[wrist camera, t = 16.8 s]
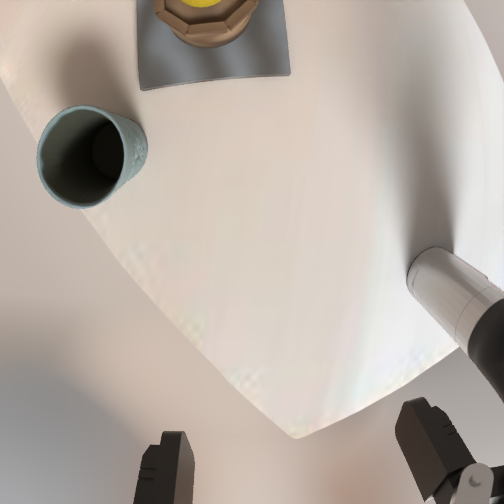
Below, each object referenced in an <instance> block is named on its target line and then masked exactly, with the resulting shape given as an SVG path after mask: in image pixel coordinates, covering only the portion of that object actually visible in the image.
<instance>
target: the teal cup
mask: <svg viewBox="0 0 504 504" xmlns="http://www.w3.org/2000/svg"><path fill="white" fill-rule="evenodd" d="M147 152H148V144H147V139H146V136H145V134H144V132H143V130H142V129H141V127H140V126H139V125H138V124H137V123H135V122H134V121H132V120H130V119H128V118H125V117H122V116H119V115H117V114H114V113H111V112H108V111H106V110H103V109H101V108H98V107H95V106H90V105H78V106H73V107H69V108H67V109H65V110H63V111H61V112H60V113H58V114H57V115H56V116H55V117H54V118H53V119H52V120H51V121H50V122H49V123H48V125H47V126H46V128H45V129H44V131H43V133H42V135H41V138H40V141H39V144H38V150H37V168H38V173H39V176H40V179H41V181H42V183H43V185H44V187H45V189H46V190H47V191H48V193H49V194H50V195H51V196H52V197H53V198H54V199H55V200H57V201H58V202H60V203H62V204H63V205H66V206H68V207H71V208H75V209H85V208H90V207H94V206H96V205H99V204H101V203H103V202H104V201H106V200H107V199H108V198H109V197H110V196H111V195H112V194H113V193H115V192H116V191H117V190H118V189H119V188H120V187H121V186H122V185H124V184H125V183H126V182H127V181H129V180H130V179H131V178H133V177H134V176H135V175H136V174H137V173H138V172H139V171H140V170H141V168H142V167H143V165H144V163H145V160H146V157H147Z"/></svg>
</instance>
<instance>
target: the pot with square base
mask: <svg viewBox="0 0 504 504" xmlns="http://www.w3.org/2000/svg"><path fill="white" fill-rule="evenodd" d="M137 35H138V63H139V81H140V90H142V91H146V90H152V89H157V88H163V87H169V86H176V85H182V84H190V83H197V82H206V81H215V80H225V79H237V78H251V77H271V76H289V75H290V74H291V72H290V61H289V51H288V41H287V31H286V22H285V13H284V5H283V0H221V1H220V2H218V3H217V4H215V5H212V6H209V7H193V6H190V5H187V4H185V3H184V2H182V1H181V0H137Z"/></svg>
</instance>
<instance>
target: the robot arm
mask: <svg viewBox="0 0 504 504" xmlns="http://www.w3.org/2000/svg"><path fill="white" fill-rule="evenodd" d="M407 285H408V289H409V291H410V293H411V294H412V296H413V297H414V298H415V299H416V300H417V301H418V302H419V303H420V304H421V305H422V306H423V307H424V308H425V309H426V310H427V311H428V313H429V314H430V315H431V316H432V317H433V318H434V319H435V320H436V321H437V322H438V323H439V324H440V325H441V326H442V328H443V329H444V330H445V331H446V332H447V333H448V334H449V335H450V336H451V337H452V338H453V340H454V341H455V342H456V343H457V344H458V345H459V346H460V347H461V348H462V350H463V351H464V352H465V353H466V354H467V355H468V356H469V357H470V359H471V360H472V361H473V362H474V363H475V364H476V366H477V367H478V369H479V370H480V371H481V372H482V374H483V375H484V376H485V378H486V379H487V380H488V381H489V382H490V384H491V385H492V387H493V388H494V389H495V391H496V392H497V394H498V395H499V397H500V398H501V399H502V401H503V403H504V291H503V290H501V289H500V288H498V287H497V286H496V285H494V284H493V283H492V282H490V281H489V280H488V278H487V276H485V275H484V274H483V273H481V272H480V271H478V270H477V269H475V268H474V267H473V266H471V265H470V264H468V263H467V262H465V261H464V260H462V259H461V258H459V257H458V256H456V255H455V254H451V253H449V252H448V251H446V250H444V249H442V248H439V247H434V248H430V249H427V250H426V251H424V252H422V253H421V254H420V255H419V256H418V257H417V258H416V259H415V261H414V262H413V264H412V265H411V268H410V270H409V273H408V277H407ZM395 435H396V439H397V441H398V443H399V445H400V447H401V450H402V452H403V454H404V456H405V458H406V461H407V463H408V465H409V467H410V469H411V472H412V474H413V477H414V479H415V481H416V483H417V486H418V488H419V490H420V492H421V495H422V497H423V500H424V502H427V501H429V500H432V499H434V500H435V502H436V504H504V465H503V466H498V467H492V468H489V467H488V466H486V465H484V464H481V463H477V462H476V461H475V460H474V459H473V457H472V455H471V453H470V452H469V450H468V448H467V447H466V445H465V443H464V442H463V440H462V438H461V437H460V435H459V433H457V430H456V429H455V427H454V425H452V422H451V420H450V419H449V417H448V416H447V414H446V413H445V412H444V411H442V410H441V409H440V408H438V407H437V406H434V407H431V406H430V405H429V403H428V402H427V400H426V399H425V398H424V397H420V398H416V399H413V400H409V401H406V402H404V403H403V406H402V409H401V412H400V414H399V417H398V420H397V423H396V426H395ZM194 469H195V461H194V455H193V451H192V449H191V446H190V444H189V441H188V439H187V436H186V434H185V432H184V431H164V432H163V433H162V436H161V442H160V445H150V446H149V447H148V449H147V450H146V451H145V453H144V454H143V456H142V461H141V466H140V471H139V476H138V478H139V479H138V481H137V486H136V492H135V497H134V503H133V504H192V500H193V485H194Z"/></svg>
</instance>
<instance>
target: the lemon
mask: <svg viewBox="0 0 504 504" xmlns="http://www.w3.org/2000/svg"><path fill="white" fill-rule="evenodd" d="M181 1H182V2H184V3H185V4H187V5H190V6H193V7H209V6H212V5H215V4H217V3H218V2H220V1H221V0H181Z"/></svg>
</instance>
